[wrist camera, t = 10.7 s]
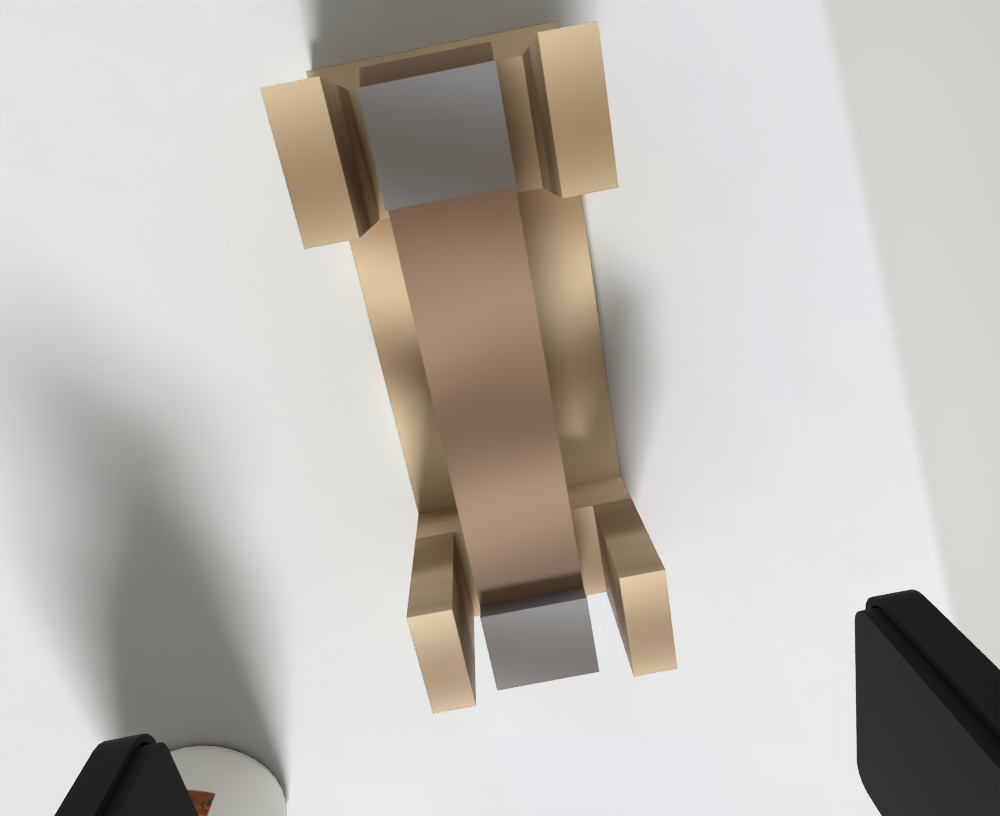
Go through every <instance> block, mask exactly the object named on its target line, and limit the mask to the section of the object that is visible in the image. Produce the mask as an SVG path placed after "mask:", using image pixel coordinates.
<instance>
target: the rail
mask: <svg viewBox="0 0 1000 816" xmlns="http://www.w3.org/2000/svg"><path fill="white" fill-rule="evenodd" d="M355 70H356V74H357V79H358V83H359V87H360V88H357V91H358V95H359V99H360V104H361V108H362V112H363V117H364V121H365V125H366V129H367V134H368V138H369V142H370V147H371V151H372V155H373V159H374V164H375V168H376V172H377V177H378V181H379V185H380V189H381V194H382V198H383V202H384V207H385V211H388V212H389V217H390V221H391V225H392V230H393V234H394V238H395V242H396V247H397V251H398V255H399V260H400V264H401V268H402V273H403V277H404V281H405V286H406V290H407V294H408V299H409V303H410V307H411V311H412V316H413V320H414V324H415V329H416V333H417V337H418V342H419V346H420V350H421V355H422V359H423V363H424V367H425V372H426V376H427V380H428V385H429V389H430V393H431V398H432V402H433V406H434V411H435V415H436V419H437V423H438V428H439V432H440V436H441V441H442V445H443V449H444V454H445V458H446V462H447V467H448V471H449V475H450V479H451V484H452V488H453V492H454V497H455V501H456V505H457V510H458V514H459V518H460V523H461V527H462V531H463V535H464V540H465V544H466V548H467V553H468V557H469V561H470V566H471V570H472V574H473V579H474V583H475V587H476V591H477V596H478V600H479V604H480V618H481V622H482V627H483V631H484V635H485V639H486V644H487V648H488V652H489V657H490V661H491V665H492V669H493V674H494V678H495V682H496V687H497V690H502V689H508V688H513V687H518V686H524V685H529V684H535V683H540V682H545V681H551V680H556V679H562V678H567V677H573V676H578V675H583V674H589V673H594V672H599V668H598V662H597V656H596V650H595V644H594V638H593V632H592V627H591V621H590V615H589V609H588V603H587V597H586V594H585V590H584V586H583V580H582V574H581V568H580V562H579V557H578V551H577V545H576V539H575V533H574V527H573V521H572V515H571V510H570V504H569V498H568V492H567V486H566V480H565V474H564V468H563V463H562V457H561V451H560V445H559V439H558V433H557V427H556V421H555V416H554V410H553V404H552V398H551V392H550V386H549V380H548V374H547V369H546V363H545V357H544V351H543V345H542V339H541V333H540V327H539V322H538V316H537V310H536V304H535V298H534V292H533V286H532V280H531V275H530V269H529V263H528V257H527V251H526V245H525V239H524V233H523V228H522V222H521V216H520V210H519V204H518V198H517V192H516V186H515V185H517V184H516V178H515V172H514V167H513V161H512V155H511V149H510V143H509V137H508V131H507V125H506V119H505V113H504V108H503V102H502V96H501V90H500V84H499V78H498V72H497V66H496V60H495V61H494V57H493V51H492V45H491V42H486V43H481V44H476V45H471V46H466V47H461V48H456V49H451V50H446V51H441V52H436V53H431V54H426V55H421V56H416V57H411V58H406V59H401V60H396V61H391V62H386V63H381V64H376V65H371V66H366V67H361V68H356V69H355Z"/></svg>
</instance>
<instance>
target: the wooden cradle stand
mask: <svg viewBox="0 0 1000 816" xmlns="http://www.w3.org/2000/svg"><path fill="white" fill-rule="evenodd" d="M486 42H491V45H492V51H493V57H494V61H495V60H496V66H497V72H498V78H499V84H500V90H501V96H502V102H503V108H504V113H505V119H506V125H507V131H508V137H509V143H510V149H511V155H512V161H513V167H514V172H515V178H516V184H517V185H515V186H516V192H517V198H518V204H519V210H520V216H521V222H522V228H523V233H524V239H525V245H526V251H527V257H528V263H529V269H530V275H531V280H532V286H533V292H534V298H535V304H536V310H537V316H538V322H539V327H540V333H541V339H542V345H543V351H544V357H545V363H546V369H547V374H548V380H549V386H550V392H551V398H552V404H553V410H554V416H555V421H556V427H557V433H558V439H559V445H560V451H561V457H562V463H563V468H564V474H565V480H566V486H567V492H568V498H569V504H570V510H571V515H572V521H573V527H574V533H575V539H576V545H577V551H578V557H579V562H580V568H581V574H582V580H583V586H584V590H585V594H586V595H591V594H596V593H602V592H607V595H608V598H609V601H610V604H611V607H612V610H613V613H614V616H615V619H616V623H617V626H618V629H619V632H620V635H621V638H622V641H623V644H624V647H625V650H626V654H627V657H628V660H629V663H630V666H631V669H632V672H633V675H634V677H635V676H640V675H645V674H651V673H656V672H662V671H667V670H673V669H677V662H676V654H675V646H674V638H673V630H672V622H671V613H670V605H669V597H668V589H667V581H666V573H665V568H664V566H663V564H662V562H661V560H660V558H659V556H658V554H657V552H656V550H655V547H654V545H653V543H652V541H651V539H650V537H649V535H648V533H647V531H646V529H645V526H644V524H643V522H642V520H641V518H640V516H639V514H638V512H637V510H636V508H635V506H634V503H633V501H632V499H631V497H630V495H629V493H628V491H627V489H626V487H625V485H624V482H623V480H622V478H621V476H620V469H619V462H618V455H617V448H616V441H615V433H614V426H613V419H612V412H611V405H610V398H609V391H608V384H607V376H606V369H605V362H604V355H603V348H602V341H601V334H600V327H599V319H598V312H597V305H596V298H595V291H594V284H593V277H592V270H591V262H590V255H589V248H588V241H587V234H586V227H585V220H584V213H583V205H582V198H581V195H583V194H588V193H593V192H598V191H603V190H608V189H613V188H618V181H617V173H616V165H615V156H614V148H613V140H612V132H611V124H610V116H609V107H608V99H607V91H606V83H605V75H604V67H603V58H602V50H601V42H600V34H599V26H598V21H593V22H588V23H583V24H578V25H573V26H568V27H563V28H558V27H557V21H554V22H549V23H544V24H539V25H534V26H529V27H524V28H519V29H514V30H509V31H504V32H499V33H494V34H489V35H484V36H479V37H474V38H469V39H464V40H459V41H454V42H449V43H444V44H439V45H434V46H429V47H424V48H419V49H414V50H409V51H404V52H399V53H394V54H389V55H384V56H379V57H374V58H369V59H364V60H359V61H354V62H349V63H344V64H339V65H334V66H329V67H324V68H319V69H314V70H309V71H306V73H307V77H308V79H303V80H298V81H293V82H288V83H283V84H278V85H273V86H268V87H263V88H260V90H261V94H262V97H263V101H264V104H265V108H266V112H267V115H268V119H269V122H270V126H271V130H272V133H273V137H274V141H275V144H276V148H277V151H278V155H279V159H280V162H281V166H282V169H283V173H284V177H285V180H286V184H287V188H288V191H289V195H290V198H291V202H292V206H293V209H294V213H295V217H296V220H297V224H298V227H299V231H300V235H301V238H302V242H303V245H304V249H307V248H312V247H317V246H323V245H328V244H333V243H338V242H343V241H348V240H349V242H350V246H351V250H352V254H353V258H354V262H355V266H356V270H357V273H358V277H359V281H360V285H361V289H362V293H363V297H364V301H365V305H366V309H367V313H368V317H369V321H370V325H371V329H372V332H373V336H374V340H375V344H376V348H377V352H378V356H379V360H380V364H381V368H382V372H383V376H384V380H385V384H386V388H387V392H388V395H389V399H390V403H391V407H392V411H393V415H394V419H395V423H396V427H397V431H398V435H399V439H400V443H401V447H402V451H403V454H404V458H405V462H406V466H407V470H408V474H409V478H410V482H411V486H412V490H413V494H414V498H415V502H416V506H417V510H418V513H419V516H418V525H417V533H416V542H415V550H414V559H413V567H412V576H411V584H410V593H409V601H408V610H407V622H408V625H409V629H410V632H411V636H412V640H413V643H414V647H415V650H416V654H417V658H418V661H419V665H420V669H421V672H422V676H423V679H424V683H425V687H426V690H427V694H428V697H429V701H430V705H431V708H432V712H433V714H434V713H439V712H445V711H450V710H456V709H461V708H466V707H472V706H476V690H475V649H474V616H478V615H480V604H479V600H478V596H477V591H476V587H475V583H474V579H473V574H472V570H471V566H470V561H469V557H468V553H467V548H466V544H465V540H464V535H463V531H462V527H461V523H460V518H459V514H458V510H457V505H456V501H455V497H454V492H453V488H452V484H451V479H450V475H449V471H448V467H447V462H446V458H445V454H444V449H443V445H442V441H441V436H440V432H439V428H438V423H437V419H436V415H435V411H434V406H433V402H432V398H431V393H430V389H429V385H428V380H427V376H426V372H425V367H424V363H423V359H422V355H421V350H420V346H419V342H418V337H417V333H416V329H415V324H414V320H413V316H412V311H411V307H410V303H409V299H408V294H407V290H406V286H405V281H404V277H403V273H402V268H401V264H400V260H399V255H398V251H397V247H396V242H395V238H394V234H393V230H392V225H391V221H390V217H389V212H388V211H385V207H384V202H383V198H382V194H381V189H380V185H379V181H378V177H377V172H376V168H375V164H374V159H373V155H372V151H371V147H370V142H369V138H368V134H367V129H366V125H365V121H364V117H363V112H362V108H361V104H360V99H359V95H358V91H357V88H360V87H359V83H358V79H357V74H356V70H355V69H356V68H361V67H366V66H371V65H376V64H381V63H386V62H391V61H396V60H401V59H406V58H411V57H416V56H421V55H426V54H431V53H436V52H441V51H446V50H451V49H456V48H461V47H466V46H471V45H476V44H481V43H486Z"/></svg>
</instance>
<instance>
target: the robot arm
mask: <svg viewBox="0 0 1000 816" xmlns="http://www.w3.org/2000/svg"><path fill="white" fill-rule="evenodd" d="M855 660H856V729H857V765H858V770H859V774H860V777H861V780H862V782H863V785H864V787H865V789H866V791H867V793H868V794H869V796H870V798H871V799H872V801H873V802H874V804H875V806H876V807H877V809H878V810H879V812H880V814H881V815H882V816H1000V670H999V669H998V668H997V667H996V666H995V665H994V664H993V663H992V662H991V661H990V660H989V659H988V658H987V657H986V656H985V655H984V654H983V653H982V652H981V651H980V650H979V649H978V648H977V647H976V646H975V645H974V644H973V643H972V642H971V641H970V640H969V639H968V638H967V637H966V636H965V635H964V634H963V633H961V632H960V631H959V630H958V629H957V628H956V627H955V626H954V625H953V624H952V623H951V622H950V621H949V620H948V619H947V618H946V617H945V616H944V615H943V614H942V613H941V612H940V611H939V610H938V609H937V608H936V607H935V606H934V605H933V604H932V603H931V602H930V601H929V600H928V599H927V598H926V597H925V596H924V595H922V594H921V593H920V592H918V591H916V590H907V591H901V592H896V593H891V594H885V595H880V596H875V597H871V598H869V599H868V600H867V602H866V609H865V610H863V611H859V612H857V613H856V615H855ZM55 816H199V815H198V813H197V810H196V808H195V806H194V804H193V802H192V799H191V797H190V795H189V793H188V791H187V788H186V786H185V784H184V782H183V780H182V777H181V775H180V773H179V771H178V768H177V766H176V764H175V762H174V760H173V757H172V755H171V753H170V751H169V749H168V747H167V746H166V745H165V744H164V743H156V741H155V740H154V738H153V737H152V736H150V735H149V734H140V735H135V736H130V737H125V738H119V739H114V740H109V741H104V742H102V743H101V744H99V745H98V746H97V747H96V748H95V750H94V751H93V752H92V754H91V756H90V757H89V759H88V761H87V762H86V764H85V766H84V767H83V769H82V771H81V772H80V774H79V776H78V777H77V779H76V781H75V782H74V784H73V786H72V787H71V789H70V791H69V792H68V794H67V796H66V797H65V799H64V801H63V802H62V804H61V806H60V807H59V809H58V811H57V812H56V814H55Z"/></svg>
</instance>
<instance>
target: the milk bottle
mask: <svg viewBox="0 0 1000 816" xmlns="http://www.w3.org/2000/svg"><path fill="white" fill-rule="evenodd" d="M170 753H171V755H172V757H173V760H174V762H175V764H176V766H177V768H178V771H179V773H180V775H181V777H182V780H183V782H184V784H185V786H186V788H187V791H188V793H189V795H190V797H191V799H192V802H193V804H194V806H195V808H196V810H197V813H198V815H199V816H287V809H286V803H285V798H284V795H283V791H282V788H281V786H280V785H279V783H278V781H277V779H276V778H275V777H274V776H273V775H272V774H271V772H270V771H269V770H268V769H267V768H266V767H264V766H263V765H262V764H260V763H259V762H258V761H257V760H255V759H253V758H251V757H249V756H247V755H245V754H244V753H240V752H237V751H234V750H231V749H228V748H222V747H217V746H193V747H184V748H181V749H178V750H174V751H170Z"/></svg>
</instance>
